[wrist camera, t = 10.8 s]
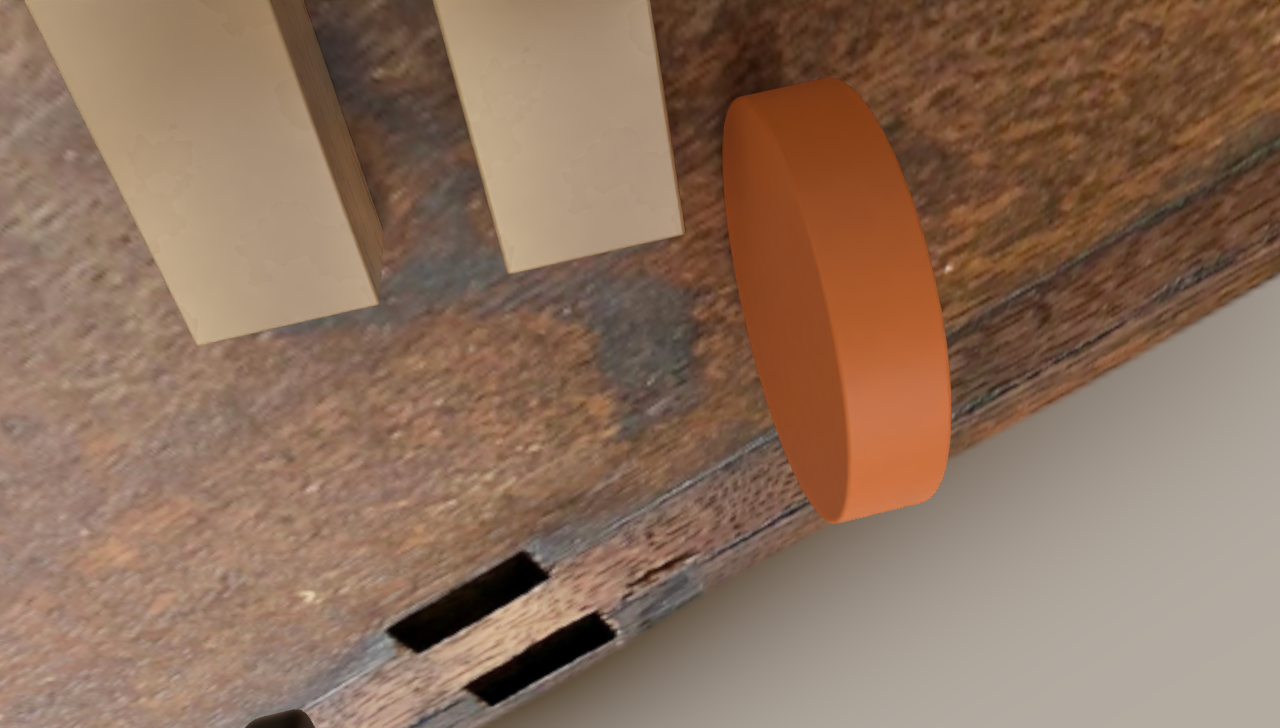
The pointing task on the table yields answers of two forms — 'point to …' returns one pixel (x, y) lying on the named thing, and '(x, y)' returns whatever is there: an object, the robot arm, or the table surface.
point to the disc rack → (325, 155)
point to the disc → (837, 298)
